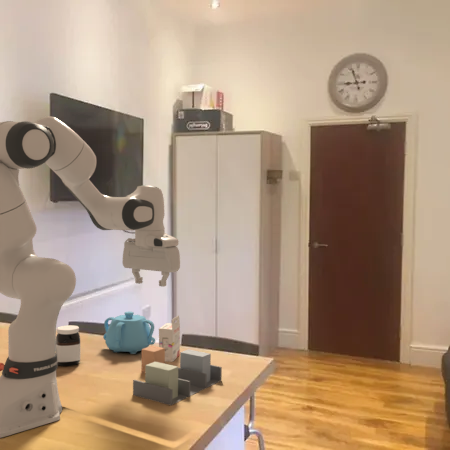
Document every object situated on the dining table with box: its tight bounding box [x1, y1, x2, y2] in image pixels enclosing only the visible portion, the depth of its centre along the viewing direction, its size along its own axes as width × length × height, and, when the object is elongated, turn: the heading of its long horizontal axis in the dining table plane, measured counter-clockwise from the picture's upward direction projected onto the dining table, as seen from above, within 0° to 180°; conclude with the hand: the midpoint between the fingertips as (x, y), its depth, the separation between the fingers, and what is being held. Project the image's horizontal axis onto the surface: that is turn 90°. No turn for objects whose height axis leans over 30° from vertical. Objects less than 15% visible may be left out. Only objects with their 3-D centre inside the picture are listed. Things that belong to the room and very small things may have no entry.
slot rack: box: [132, 364, 223, 406], centre depth 151 cm, size 23×13×5 cm, turn 147°
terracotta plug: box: [141, 345, 166, 374], centre depth 165 cm, size 5×5×8 cm
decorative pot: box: [103, 311, 156, 355], centre depth 192 cm, size 16×16×14 cm
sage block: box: [144, 362, 179, 399], centre depth 145 cm, size 4×8×8 cm, turn 57°
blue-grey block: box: [179, 348, 212, 382], centre depth 157 cm, size 4×8×8 cm, turn 57°
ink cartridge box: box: [158, 314, 181, 363], centre depth 180 cm, size 9×5×15 cm, turn 168°
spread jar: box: [55, 324, 81, 367], centre depth 176 cm, size 12×11×12 cm
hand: (150, 284), depth 164 cm, fingers open, 8 cm apart
